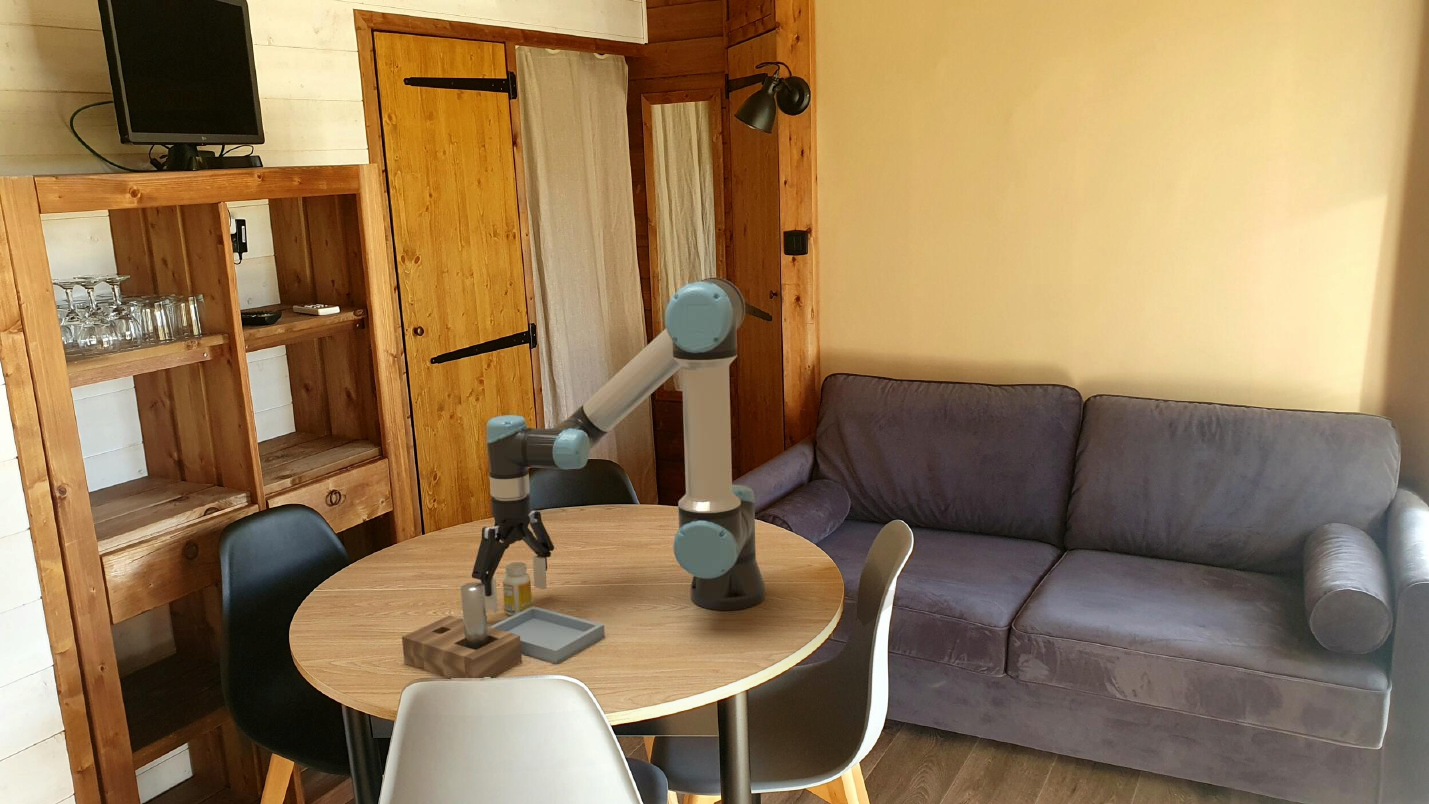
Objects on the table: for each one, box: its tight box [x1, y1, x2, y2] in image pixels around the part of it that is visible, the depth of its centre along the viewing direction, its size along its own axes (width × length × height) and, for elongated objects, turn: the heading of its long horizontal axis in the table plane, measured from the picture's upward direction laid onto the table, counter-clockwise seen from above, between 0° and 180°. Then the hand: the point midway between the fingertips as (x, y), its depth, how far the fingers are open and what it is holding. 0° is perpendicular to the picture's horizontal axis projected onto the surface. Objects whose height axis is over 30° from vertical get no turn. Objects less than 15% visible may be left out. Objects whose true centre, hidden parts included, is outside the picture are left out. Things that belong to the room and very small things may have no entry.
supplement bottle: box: [502, 561, 533, 617], centre depth 205 cm, size 5×5×10 cm
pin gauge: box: [460, 581, 489, 650], centre depth 180 cm, size 4×4×15 cm
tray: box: [489, 605, 606, 665], centre depth 192 cm, size 18×13×2 cm
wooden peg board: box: [401, 614, 523, 679], centre depth 183 cm, size 18×11×5 cm, turn 56°
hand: (516, 598), depth 205 cm, fingers open, 13 cm apart
